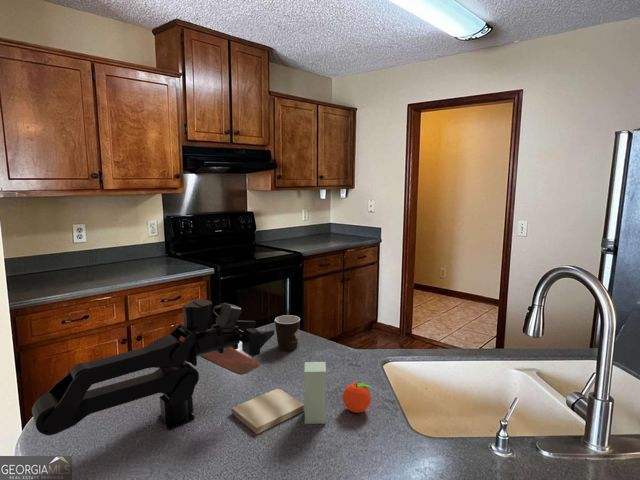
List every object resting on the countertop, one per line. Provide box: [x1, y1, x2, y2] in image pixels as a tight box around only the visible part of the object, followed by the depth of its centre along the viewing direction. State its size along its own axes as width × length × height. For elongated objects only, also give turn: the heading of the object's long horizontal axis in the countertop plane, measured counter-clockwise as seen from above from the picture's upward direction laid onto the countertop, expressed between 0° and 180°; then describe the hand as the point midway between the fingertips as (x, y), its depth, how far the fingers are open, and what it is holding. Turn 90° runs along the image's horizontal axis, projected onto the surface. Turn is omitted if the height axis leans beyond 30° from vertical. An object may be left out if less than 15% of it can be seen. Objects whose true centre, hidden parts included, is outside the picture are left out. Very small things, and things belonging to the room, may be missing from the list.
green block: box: [303, 361, 327, 425], centre depth 97 cm, size 5×5×13 cm
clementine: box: [342, 382, 375, 414], centre depth 100 cm, size 8×7×7 cm
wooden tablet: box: [200, 348, 261, 375], centre depth 131 cm, size 27×10×2 cm, turn 47°
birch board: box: [231, 388, 305, 435], centre depth 100 cm, size 14×11×2 cm
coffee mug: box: [274, 314, 301, 352], centre depth 139 cm, size 12×9×10 cm
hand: (264, 327), depth 111 cm, fingers open, 9 cm apart
